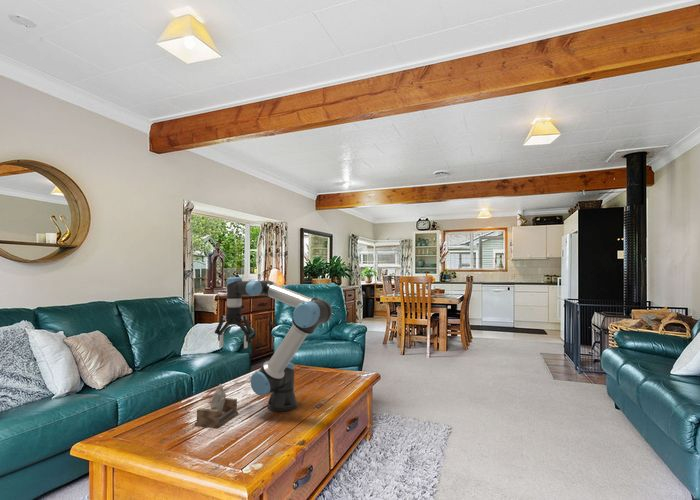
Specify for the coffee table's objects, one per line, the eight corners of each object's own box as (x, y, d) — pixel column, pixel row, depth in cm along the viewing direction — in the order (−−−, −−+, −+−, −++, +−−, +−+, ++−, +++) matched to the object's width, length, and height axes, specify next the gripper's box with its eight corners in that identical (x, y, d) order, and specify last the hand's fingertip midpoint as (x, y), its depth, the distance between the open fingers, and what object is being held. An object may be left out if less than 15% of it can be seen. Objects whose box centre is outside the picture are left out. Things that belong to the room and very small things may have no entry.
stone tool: (214, 421, 175) (215, 388, 176) (207, 421, 176) (208, 387, 177) (228, 413, 185) (229, 382, 186) (221, 412, 186) (223, 381, 187)
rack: (238, 414, 188) (238, 399, 189) (218, 428, 171) (218, 411, 171) (216, 412, 191) (217, 397, 191) (194, 425, 173) (195, 409, 174)
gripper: (259, 306, 202) (259, 346, 201) (215, 306, 206) (214, 345, 205) (253, 307, 195) (253, 349, 193) (208, 307, 199) (207, 348, 197)
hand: (233, 347), depth 199 cm, fingers open, 13 cm apart
